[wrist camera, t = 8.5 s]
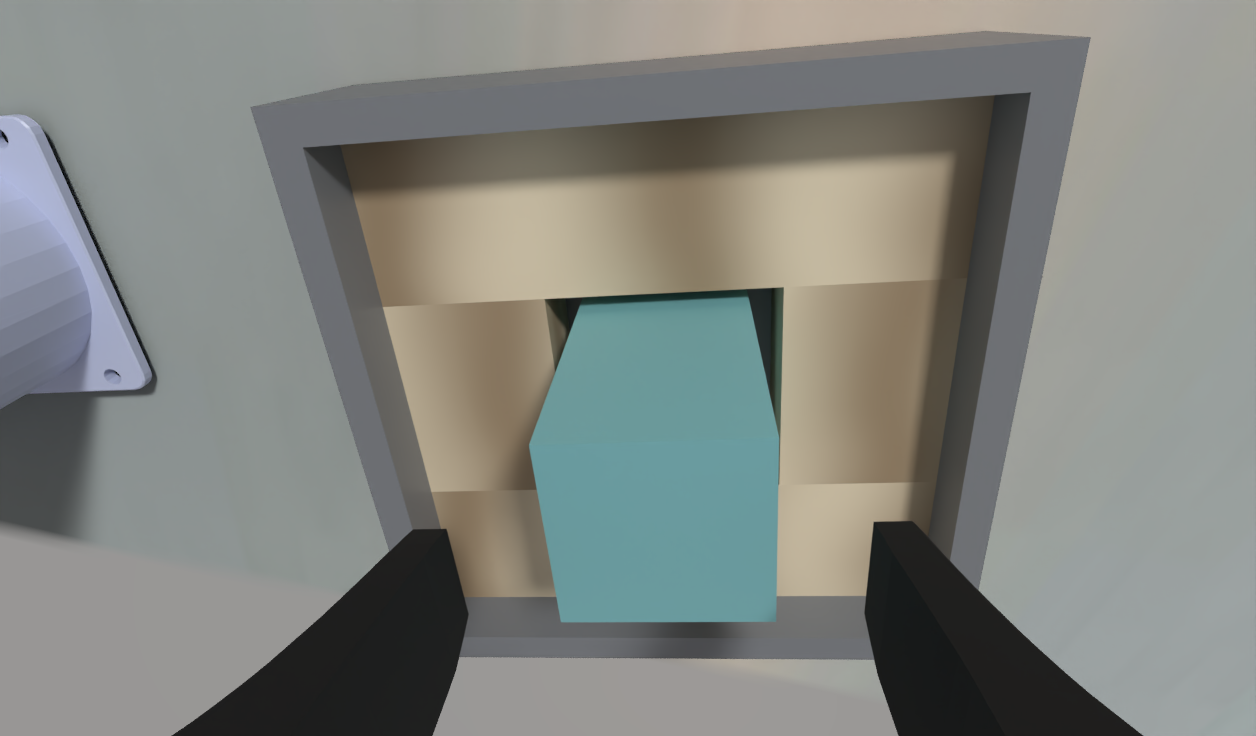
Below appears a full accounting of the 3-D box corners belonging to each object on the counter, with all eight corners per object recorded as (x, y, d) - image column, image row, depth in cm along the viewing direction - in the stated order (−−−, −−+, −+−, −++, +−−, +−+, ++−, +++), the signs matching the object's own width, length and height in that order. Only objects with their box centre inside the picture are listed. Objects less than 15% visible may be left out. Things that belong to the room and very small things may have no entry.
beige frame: (480, 542, 23) (459, 597, 21) (381, 119, 17) (337, 135, 15) (896, 538, 21) (919, 595, 19) (953, 74, 15) (996, 84, 13)
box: (466, 548, 24) (422, 656, 20) (352, 84, 17) (250, 107, 13) (914, 544, 22) (963, 660, 18) (986, 30, 15) (1090, 37, 11)
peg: (605, 406, 20) (560, 622, 13) (590, 277, 18) (528, 445, 11) (743, 401, 20) (776, 621, 12) (742, 268, 18) (779, 437, 11)
